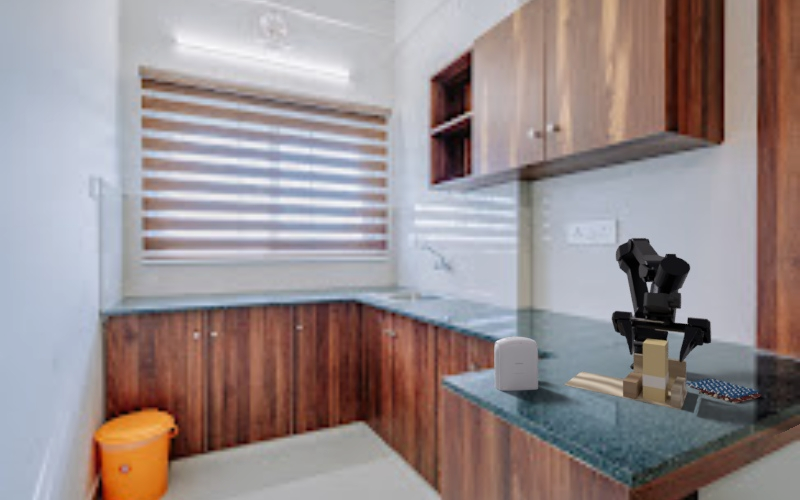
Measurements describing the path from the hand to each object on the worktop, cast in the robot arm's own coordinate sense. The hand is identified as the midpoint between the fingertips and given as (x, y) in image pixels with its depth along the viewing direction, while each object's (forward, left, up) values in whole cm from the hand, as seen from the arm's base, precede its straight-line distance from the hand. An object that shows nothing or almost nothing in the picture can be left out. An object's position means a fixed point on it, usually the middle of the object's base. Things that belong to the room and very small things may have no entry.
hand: (654, 357), depth 87 cm
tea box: (-1, 0, -9) cm, 9 cm away
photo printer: (+13, -26, -10) cm, 31 cm away
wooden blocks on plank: (-3, -6, -9) cm, 12 cm away
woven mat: (-16, +11, -10) cm, 22 cm away
